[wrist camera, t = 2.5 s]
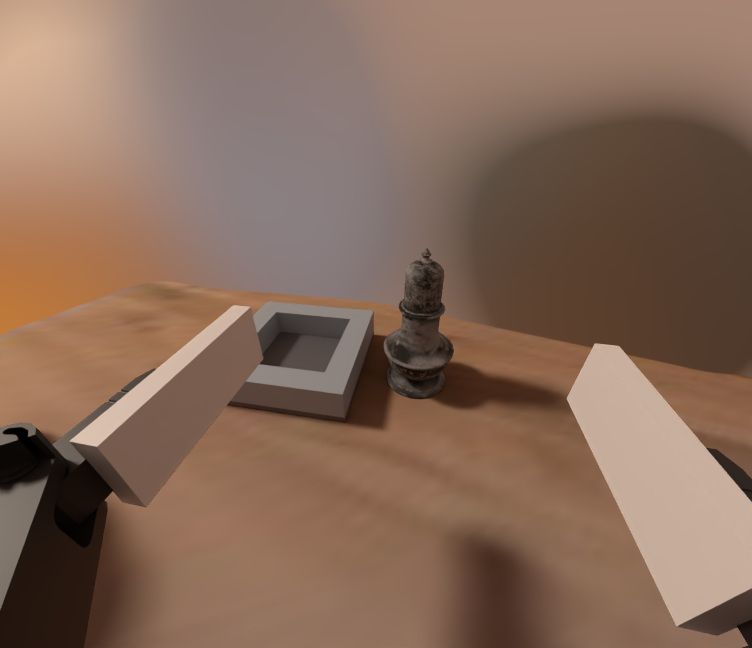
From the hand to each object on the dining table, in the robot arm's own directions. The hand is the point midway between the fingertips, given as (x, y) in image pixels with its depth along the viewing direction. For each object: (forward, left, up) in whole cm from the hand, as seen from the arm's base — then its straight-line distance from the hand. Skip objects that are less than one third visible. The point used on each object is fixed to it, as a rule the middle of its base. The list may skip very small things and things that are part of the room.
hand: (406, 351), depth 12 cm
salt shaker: (0, -11, -12) cm, 16 cm away
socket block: (+11, -11, -11) cm, 19 cm away
